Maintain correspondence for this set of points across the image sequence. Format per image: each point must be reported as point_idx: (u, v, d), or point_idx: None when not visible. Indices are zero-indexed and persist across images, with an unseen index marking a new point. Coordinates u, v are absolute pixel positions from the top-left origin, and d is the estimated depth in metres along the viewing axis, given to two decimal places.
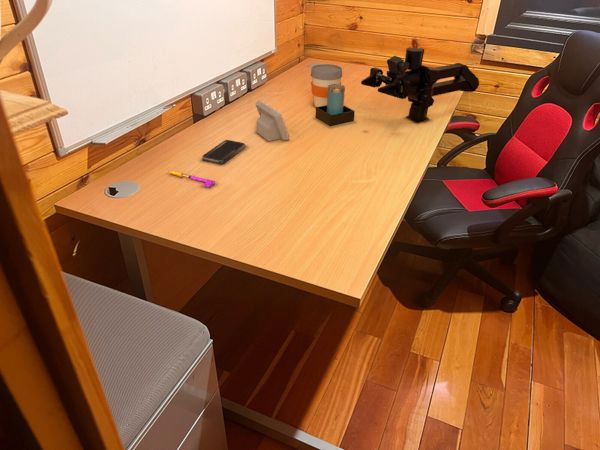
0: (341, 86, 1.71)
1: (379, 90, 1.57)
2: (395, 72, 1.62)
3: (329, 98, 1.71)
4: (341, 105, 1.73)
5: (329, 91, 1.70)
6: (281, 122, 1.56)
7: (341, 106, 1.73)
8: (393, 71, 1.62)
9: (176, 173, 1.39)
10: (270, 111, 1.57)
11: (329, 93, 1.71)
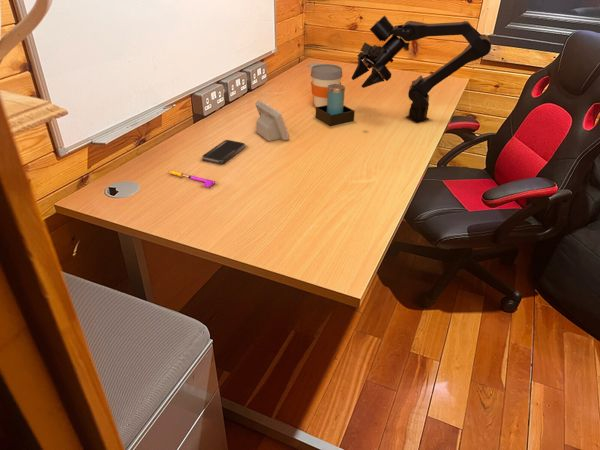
0: (341, 86, 1.71)
1: (363, 87, 1.68)
2: (373, 56, 1.67)
3: (329, 98, 1.71)
4: (341, 105, 1.73)
5: (329, 91, 1.70)
6: (281, 122, 1.56)
7: (341, 106, 1.73)
8: None
9: (176, 173, 1.39)
10: (270, 111, 1.57)
11: (329, 93, 1.71)
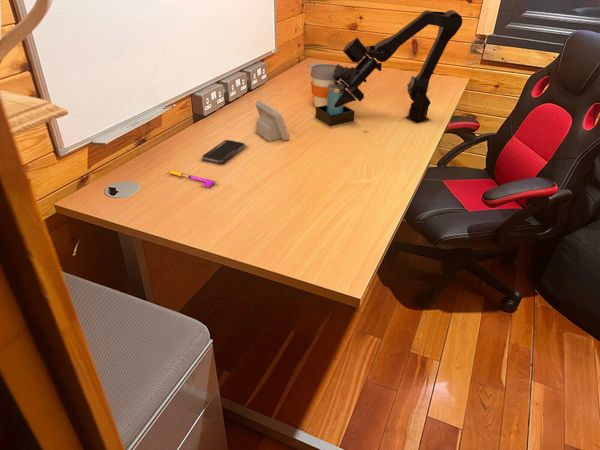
0: (341, 86, 1.71)
1: (336, 106, 1.71)
2: (345, 77, 1.69)
3: (329, 98, 1.71)
4: (341, 105, 1.73)
5: (329, 91, 1.70)
6: (281, 122, 1.56)
7: (341, 106, 1.73)
8: None
9: (176, 173, 1.39)
10: (270, 111, 1.57)
11: (329, 93, 1.71)
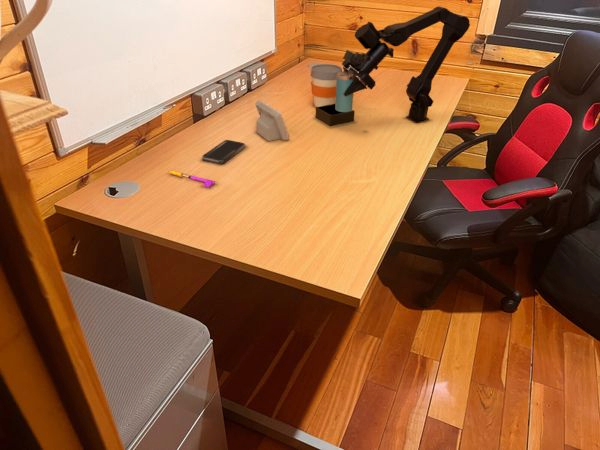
0: (351, 73, 1.61)
1: (346, 95, 1.62)
2: (356, 64, 1.59)
3: (338, 86, 1.62)
4: (351, 94, 1.63)
5: (338, 79, 1.60)
6: (281, 122, 1.56)
7: (351, 95, 1.63)
8: None
9: (176, 173, 1.39)
10: (270, 111, 1.57)
11: (338, 81, 1.61)
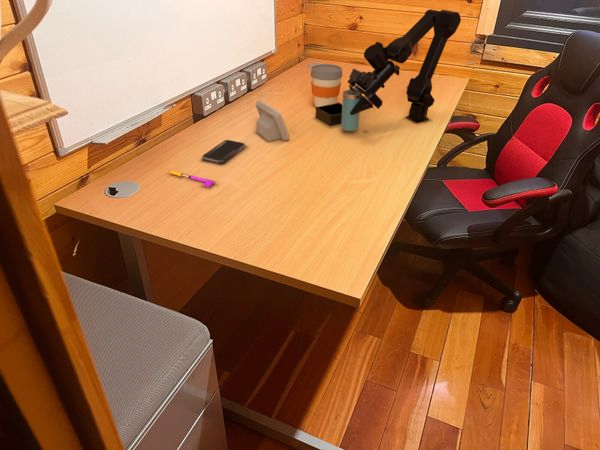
0: (357, 92, 1.59)
1: (352, 114, 1.59)
2: (362, 83, 1.57)
3: (344, 105, 1.59)
4: None
5: (344, 98, 1.58)
6: (281, 122, 1.56)
7: (357, 113, 1.61)
8: (361, 82, 1.58)
9: (176, 173, 1.39)
10: (270, 111, 1.57)
11: (344, 100, 1.59)
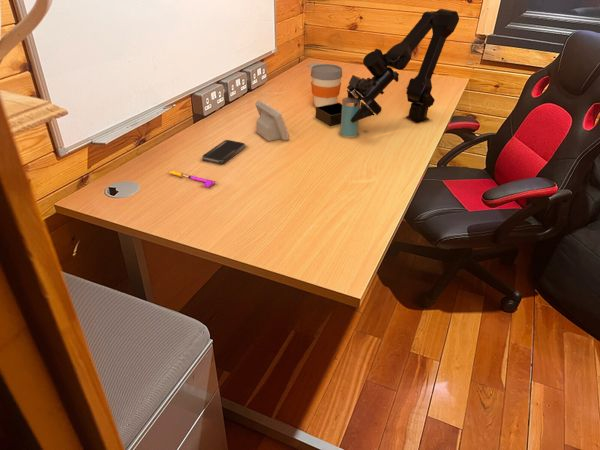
0: (356, 100, 1.61)
1: (353, 121, 1.59)
2: (361, 89, 1.58)
3: (344, 112, 1.61)
4: None
5: (344, 105, 1.60)
6: (281, 122, 1.56)
7: (356, 121, 1.62)
8: None
9: (176, 173, 1.39)
10: (270, 111, 1.57)
11: (344, 107, 1.60)
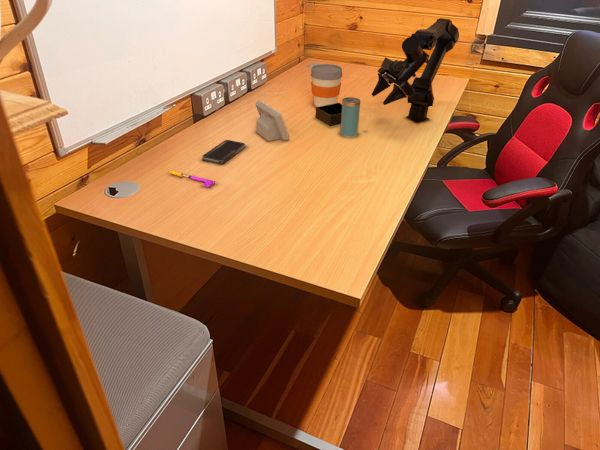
0: (356, 100, 1.61)
1: (385, 104, 1.59)
2: (394, 72, 1.58)
3: (344, 112, 1.61)
4: (356, 120, 1.62)
5: (344, 105, 1.60)
6: (281, 122, 1.56)
7: (356, 121, 1.62)
8: None
9: (176, 173, 1.39)
10: (270, 111, 1.57)
11: (344, 107, 1.60)
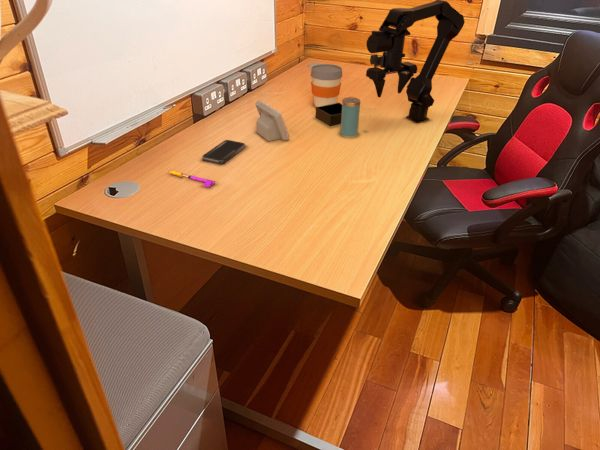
0: (356, 100, 1.61)
1: (378, 96, 1.64)
2: None
3: (344, 112, 1.61)
4: (356, 120, 1.62)
5: (344, 105, 1.60)
6: (281, 122, 1.56)
7: (356, 121, 1.62)
8: None
9: (176, 173, 1.39)
10: (270, 111, 1.57)
11: (344, 107, 1.60)
